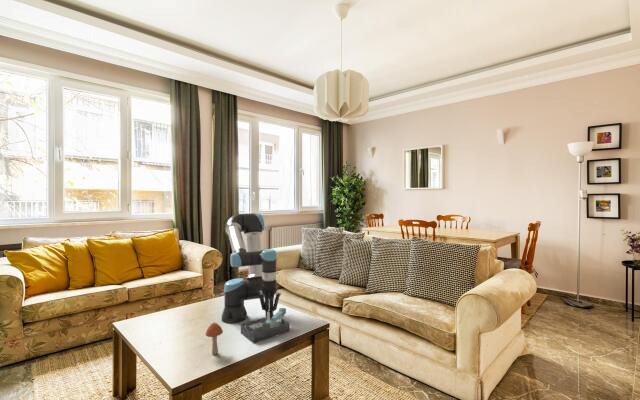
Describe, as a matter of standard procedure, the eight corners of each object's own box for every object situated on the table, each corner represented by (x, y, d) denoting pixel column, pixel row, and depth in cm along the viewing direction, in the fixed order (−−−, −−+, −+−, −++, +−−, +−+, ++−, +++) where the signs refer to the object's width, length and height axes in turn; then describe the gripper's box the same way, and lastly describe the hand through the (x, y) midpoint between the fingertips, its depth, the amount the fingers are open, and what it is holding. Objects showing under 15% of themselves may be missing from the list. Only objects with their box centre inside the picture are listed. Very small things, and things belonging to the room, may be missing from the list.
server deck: (240, 333, 178) (240, 319, 178) (277, 322, 192) (277, 309, 192) (253, 343, 166) (253, 328, 166) (291, 331, 180) (291, 317, 180)
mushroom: (208, 349, 159) (207, 319, 159) (224, 349, 160) (224, 318, 160) (203, 358, 151) (203, 326, 151) (221, 357, 152) (220, 325, 152)
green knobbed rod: (280, 312, 188) (280, 307, 188) (287, 313, 187) (287, 308, 187) (261, 329, 165) (261, 323, 165) (269, 330, 164) (269, 324, 164)
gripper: (254, 280, 171) (254, 324, 171) (277, 282, 167) (277, 327, 168) (261, 276, 178) (261, 319, 179) (283, 278, 174) (283, 321, 175)
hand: (269, 323), depth 173 cm, fingers closed
